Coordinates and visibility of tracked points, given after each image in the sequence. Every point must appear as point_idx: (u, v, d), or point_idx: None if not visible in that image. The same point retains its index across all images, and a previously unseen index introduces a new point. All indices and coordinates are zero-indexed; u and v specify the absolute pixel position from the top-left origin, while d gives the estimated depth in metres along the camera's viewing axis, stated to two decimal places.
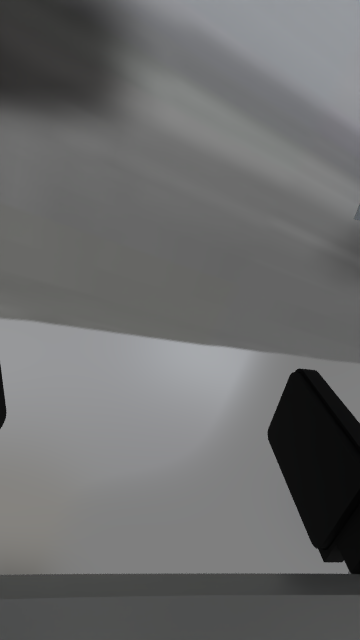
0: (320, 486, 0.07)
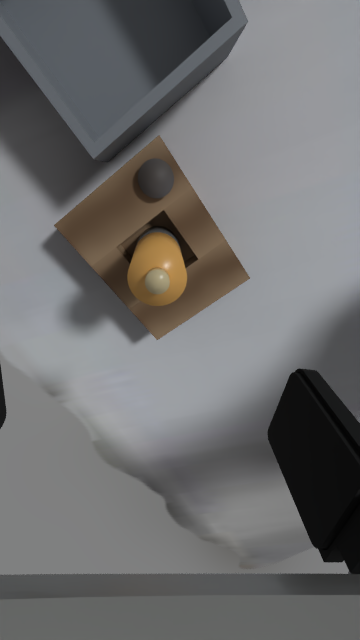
0: (320, 486, 0.07)
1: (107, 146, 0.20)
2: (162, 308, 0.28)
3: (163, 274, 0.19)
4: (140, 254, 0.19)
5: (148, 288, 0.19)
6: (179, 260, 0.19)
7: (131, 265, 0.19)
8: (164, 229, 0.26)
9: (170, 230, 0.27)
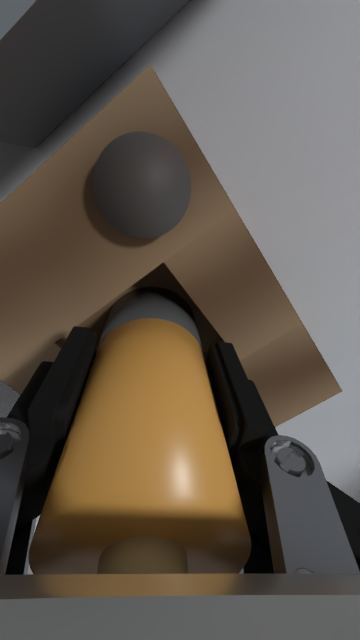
0: None
1: None
2: None
3: None
4: (71, 508, 0.05)
5: None
6: (228, 513, 0.05)
7: (39, 538, 0.05)
8: (165, 299, 0.11)
9: (177, 295, 0.13)
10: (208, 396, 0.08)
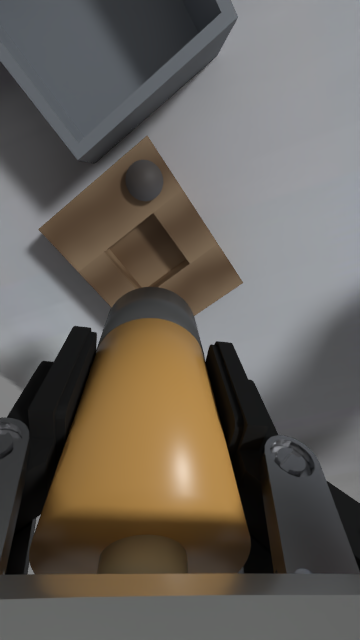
0: None
1: (92, 147, 0.19)
2: None
3: None
4: (71, 507, 0.05)
5: None
6: (228, 512, 0.05)
7: (39, 537, 0.05)
8: (165, 299, 0.11)
9: (177, 295, 0.13)
10: (208, 396, 0.08)
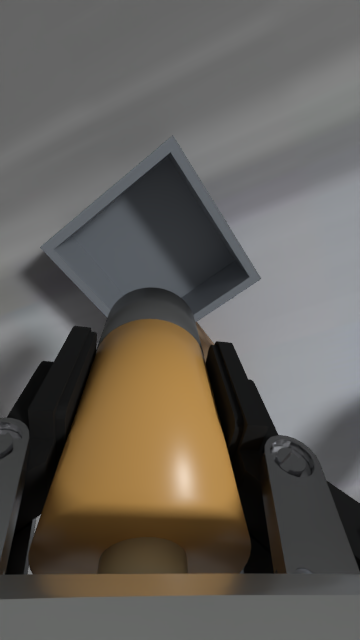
0: None
1: None
2: None
3: None
4: (71, 509, 0.05)
5: None
6: (228, 515, 0.05)
7: (39, 540, 0.05)
8: (165, 300, 0.11)
9: (177, 295, 0.13)
10: (208, 397, 0.08)
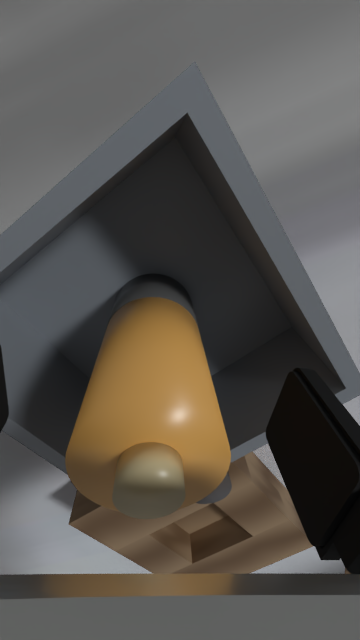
0: (316, 484, 0.07)
1: None
2: None
3: (167, 479, 0.06)
4: (98, 415, 0.06)
5: (123, 510, 0.07)
6: (212, 424, 0.07)
7: (74, 441, 0.07)
8: (165, 283, 0.13)
9: (176, 281, 0.14)
10: (201, 355, 0.09)
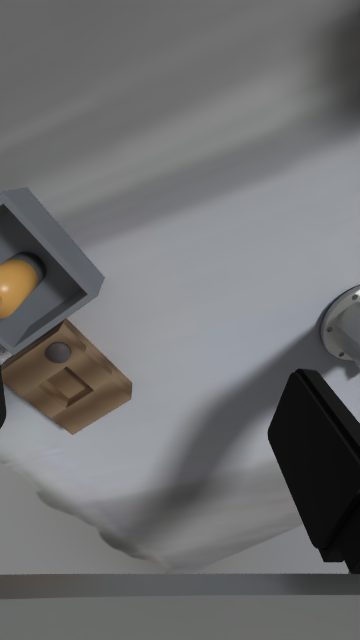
0: (319, 486, 0.07)
1: (22, 348, 0.33)
2: (73, 417, 0.42)
3: None
4: None
5: None
6: (6, 286, 0.26)
7: None
8: (26, 255, 0.32)
9: (35, 255, 0.34)
10: (21, 275, 0.29)
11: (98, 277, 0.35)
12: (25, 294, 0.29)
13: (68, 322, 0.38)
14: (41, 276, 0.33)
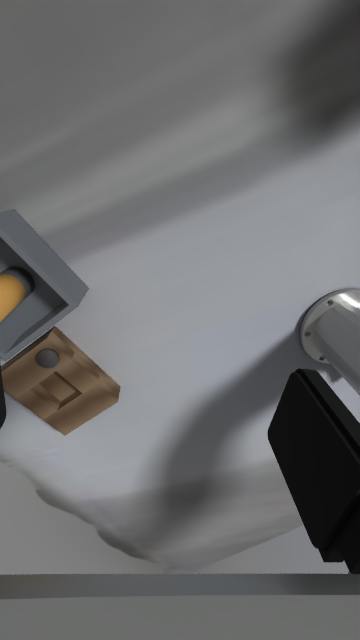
0: (320, 486, 0.07)
1: (12, 355, 0.36)
2: (65, 418, 0.45)
3: None
4: None
5: None
6: None
7: None
8: (15, 270, 0.36)
9: (24, 269, 0.37)
10: (7, 289, 0.32)
11: (81, 288, 0.37)
12: (11, 306, 0.32)
13: (57, 330, 0.41)
14: (29, 288, 0.36)
